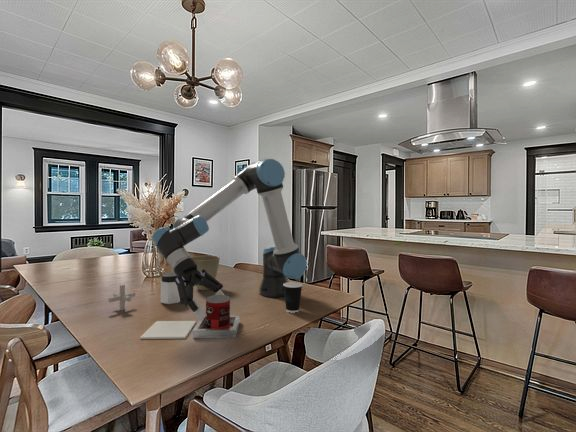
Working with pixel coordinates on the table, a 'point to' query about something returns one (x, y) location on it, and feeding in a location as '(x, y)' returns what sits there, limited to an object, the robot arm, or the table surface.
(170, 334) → the tile
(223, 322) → the canned food
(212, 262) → the plant pot
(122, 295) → the light grey toy jack
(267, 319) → the table surface
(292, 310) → the dixie cup
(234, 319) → the square frame
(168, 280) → the jar
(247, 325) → the table surface
